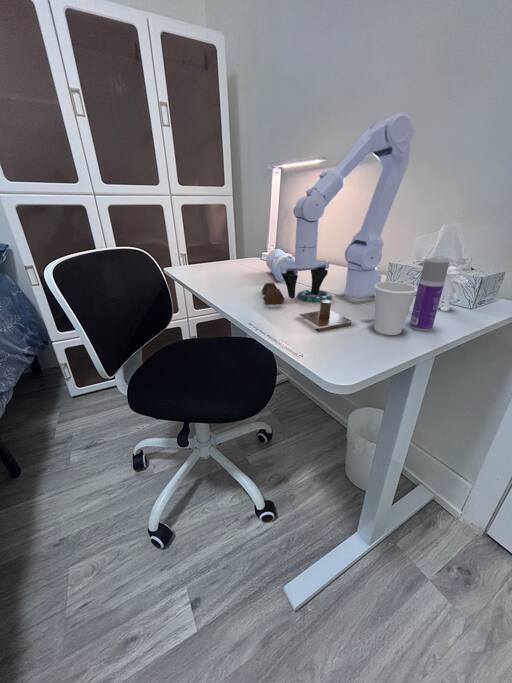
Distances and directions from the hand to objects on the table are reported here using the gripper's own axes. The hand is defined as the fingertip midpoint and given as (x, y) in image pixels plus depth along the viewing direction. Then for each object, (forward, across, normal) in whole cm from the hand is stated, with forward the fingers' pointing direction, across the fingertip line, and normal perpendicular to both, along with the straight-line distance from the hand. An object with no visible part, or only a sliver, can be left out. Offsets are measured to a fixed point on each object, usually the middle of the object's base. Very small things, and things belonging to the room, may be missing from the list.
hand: (303, 295), depth 83 cm
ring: (+1, -4, 0) cm, 4 cm away
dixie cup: (+2, -7, +25) cm, 26 cm away
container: (+2, -15, +27) cm, 31 cm away
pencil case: (+2, -9, -31) cm, 33 cm away
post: (+2, +3, +15) cm, 15 cm away
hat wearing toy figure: (+2, -31, +20) cm, 37 cm away
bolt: (+2, +7, -6) cm, 10 cm away
